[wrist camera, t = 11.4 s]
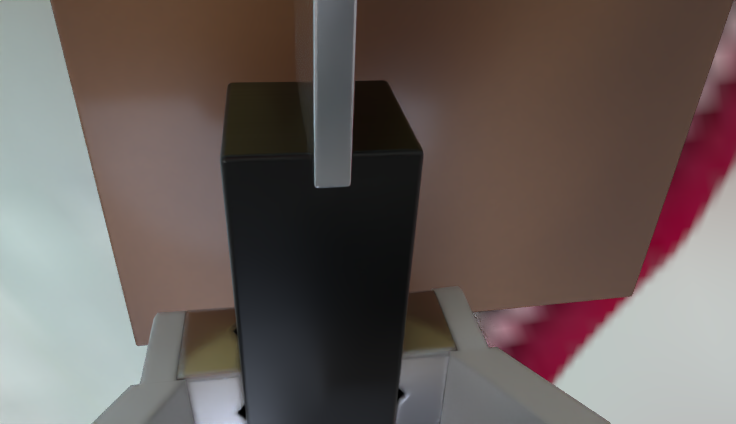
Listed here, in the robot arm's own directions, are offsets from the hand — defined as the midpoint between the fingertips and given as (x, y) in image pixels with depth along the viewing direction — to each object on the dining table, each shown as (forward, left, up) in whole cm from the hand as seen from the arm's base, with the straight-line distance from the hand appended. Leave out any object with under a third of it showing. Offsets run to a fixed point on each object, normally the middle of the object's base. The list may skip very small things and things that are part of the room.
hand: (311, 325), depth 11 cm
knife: (0, -4, 0) cm, 4 cm away
